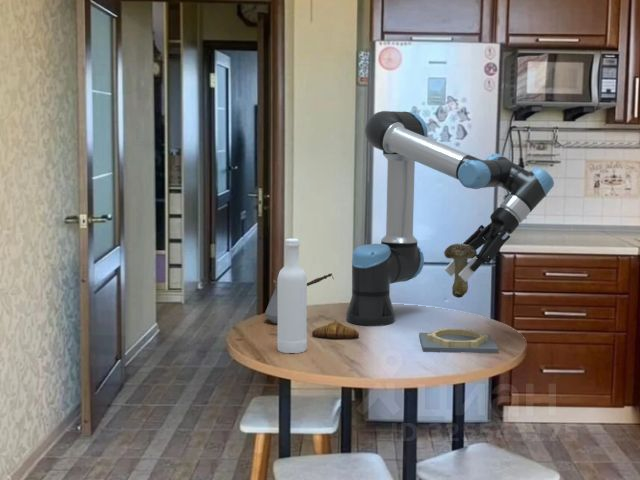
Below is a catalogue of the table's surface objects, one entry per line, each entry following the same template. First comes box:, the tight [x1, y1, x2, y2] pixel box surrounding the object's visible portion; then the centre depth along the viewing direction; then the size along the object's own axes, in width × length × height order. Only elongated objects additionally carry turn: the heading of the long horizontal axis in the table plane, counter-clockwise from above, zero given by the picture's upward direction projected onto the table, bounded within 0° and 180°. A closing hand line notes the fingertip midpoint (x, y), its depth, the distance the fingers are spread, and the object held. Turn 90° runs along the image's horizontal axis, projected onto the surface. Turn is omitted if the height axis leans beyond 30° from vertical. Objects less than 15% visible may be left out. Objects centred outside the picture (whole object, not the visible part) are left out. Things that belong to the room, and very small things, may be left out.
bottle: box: [276, 238, 308, 354], centre depth 209 cm, size 8×8×30 cm
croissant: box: [311, 320, 360, 340], centre depth 224 cm, size 14×7×5 cm, turn 83°
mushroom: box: [443, 243, 478, 298], centre depth 214 cm, size 9×9×15 cm
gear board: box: [418, 328, 500, 354], centre depth 217 cm, size 20×16×3 cm
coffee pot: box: [264, 273, 335, 325], centre depth 243 cm, size 21×12×15 cm, turn 95°
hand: (454, 275), depth 214 cm, fingers closed on mushroom, 8 cm apart
